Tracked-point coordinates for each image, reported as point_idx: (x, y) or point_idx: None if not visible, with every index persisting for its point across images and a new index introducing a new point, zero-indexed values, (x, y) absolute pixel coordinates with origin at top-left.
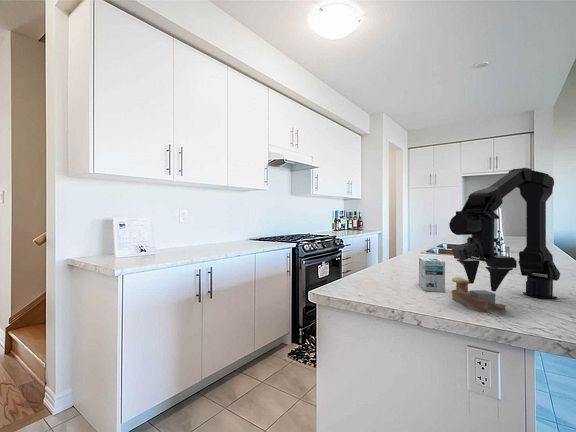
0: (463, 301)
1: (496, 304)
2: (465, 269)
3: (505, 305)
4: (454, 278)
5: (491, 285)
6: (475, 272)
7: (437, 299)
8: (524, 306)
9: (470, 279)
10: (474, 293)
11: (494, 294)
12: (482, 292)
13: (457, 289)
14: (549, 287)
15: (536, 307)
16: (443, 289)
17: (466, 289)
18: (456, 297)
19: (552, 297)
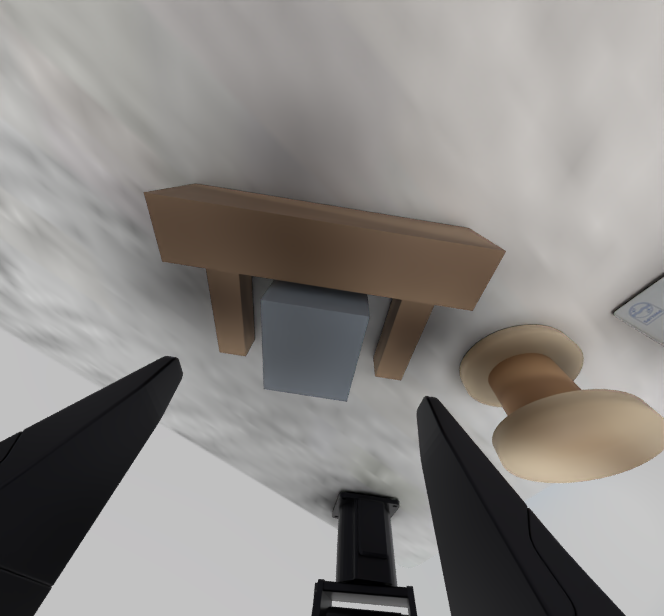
0: (345, 212)
1: (229, 324)
2: (559, 562)
3: (220, 350)
4: (644, 431)
5: (124, 385)
6: (441, 540)
7: (543, 89)
8: (281, 421)
9: (436, 429)
10: (312, 303)
11: (264, 382)
12: (298, 351)
13: (545, 364)
14: (337, 546)
15: (268, 437)
16: (639, 315)
17: (498, 392)
18: (429, 226)
19: (334, 510)
